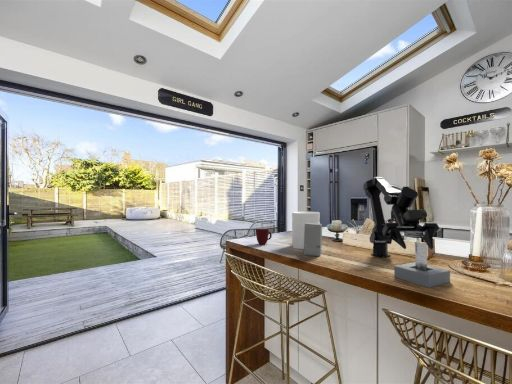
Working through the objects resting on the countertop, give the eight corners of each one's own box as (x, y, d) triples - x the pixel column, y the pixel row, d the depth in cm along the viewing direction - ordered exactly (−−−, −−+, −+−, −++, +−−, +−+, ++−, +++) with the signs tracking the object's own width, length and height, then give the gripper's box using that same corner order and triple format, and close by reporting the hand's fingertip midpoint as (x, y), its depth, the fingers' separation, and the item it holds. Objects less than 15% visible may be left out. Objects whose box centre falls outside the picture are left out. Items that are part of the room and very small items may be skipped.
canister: (313, 243, 154) (313, 211, 154) (324, 248, 138) (324, 213, 139) (288, 244, 151) (288, 211, 152) (297, 250, 136) (297, 213, 136)
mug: (266, 242, 159) (266, 226, 159) (274, 244, 152) (274, 227, 152) (253, 244, 152) (253, 228, 152) (261, 246, 146) (261, 229, 146)
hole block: (415, 272, 96) (415, 262, 96) (450, 282, 85) (449, 270, 85) (394, 276, 91) (394, 265, 91) (428, 287, 80) (428, 275, 80)
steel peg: (416, 277, 91) (415, 241, 91) (428, 279, 88) (427, 242, 88) (414, 279, 88) (414, 243, 88) (426, 281, 86) (425, 244, 86)
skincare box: (303, 255, 124) (303, 223, 124) (306, 252, 131) (306, 222, 131) (320, 256, 121) (320, 224, 121) (322, 253, 128) (322, 222, 128)
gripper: (385, 201, 96) (399, 235, 85) (436, 201, 94) (457, 235, 83) (377, 220, 104) (389, 252, 93) (424, 220, 102) (442, 253, 91)
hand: (418, 248), depth 90 cm, fingers open, 9 cm apart
